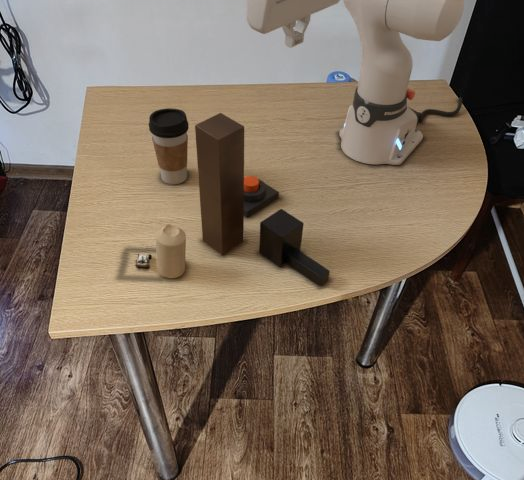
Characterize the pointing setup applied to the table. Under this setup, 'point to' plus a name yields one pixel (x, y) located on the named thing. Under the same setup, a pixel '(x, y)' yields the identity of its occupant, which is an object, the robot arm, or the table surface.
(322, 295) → the table surface
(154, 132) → the coffee cup
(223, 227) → the post
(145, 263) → the toy car
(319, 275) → the black hammer
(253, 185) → the switch button
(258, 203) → the switch plate
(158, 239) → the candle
